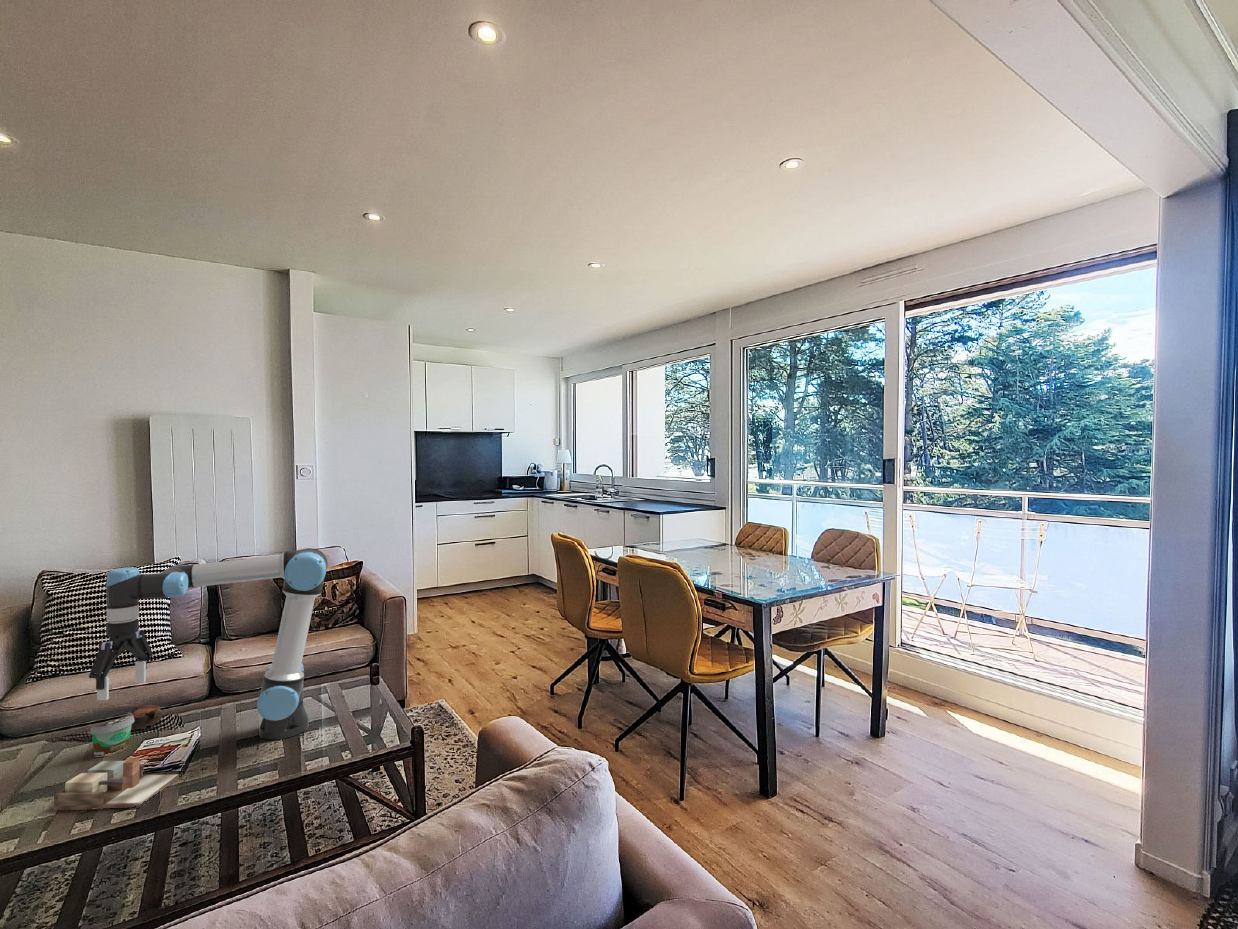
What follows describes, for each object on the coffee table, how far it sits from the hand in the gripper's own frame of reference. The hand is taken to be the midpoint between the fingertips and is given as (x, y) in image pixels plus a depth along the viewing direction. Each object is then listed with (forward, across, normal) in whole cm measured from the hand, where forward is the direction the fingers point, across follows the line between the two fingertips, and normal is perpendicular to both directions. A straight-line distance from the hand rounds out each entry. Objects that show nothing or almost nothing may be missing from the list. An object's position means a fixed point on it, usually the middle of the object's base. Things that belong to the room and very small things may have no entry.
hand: (122, 690), depth 177 cm
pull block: (+23, +15, +7) cm, 28 cm away
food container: (+25, -13, -13) cm, 31 cm away
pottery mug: (+25, -32, -18) cm, 44 cm away
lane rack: (+25, +11, +8) cm, 28 cm away
